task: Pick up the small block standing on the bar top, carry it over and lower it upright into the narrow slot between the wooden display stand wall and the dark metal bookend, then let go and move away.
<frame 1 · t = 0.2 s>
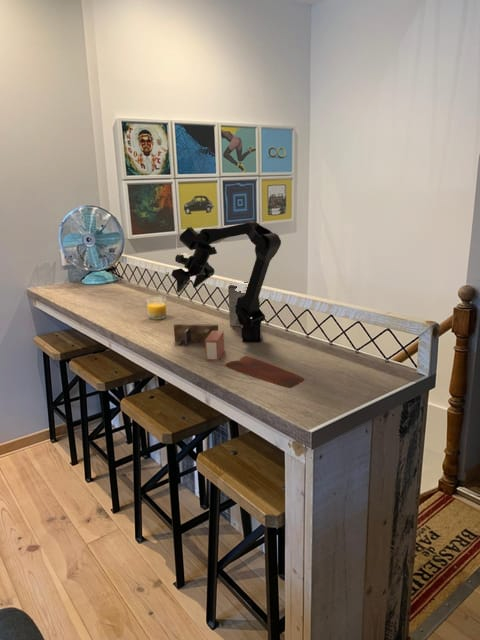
hand: (186, 289, 191), 15 cm above the table, tool tilted 30°, fingers open, 9 cm apart
block: (215, 355, 163), on the table
bookend: (184, 336, 175), on the table
wooden tablet: (264, 374, 148), on the table
coffee box: (239, 323, 197), on the table
wooden display stand: (197, 343, 174), on the table
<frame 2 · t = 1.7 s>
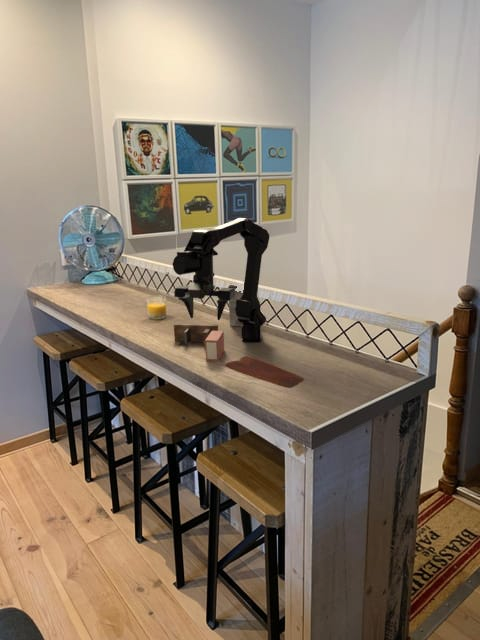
hand: (205, 319, 158), 13 cm above the table, tool pointing down, fingers open, 9 cm apart
nothing on the table moved.
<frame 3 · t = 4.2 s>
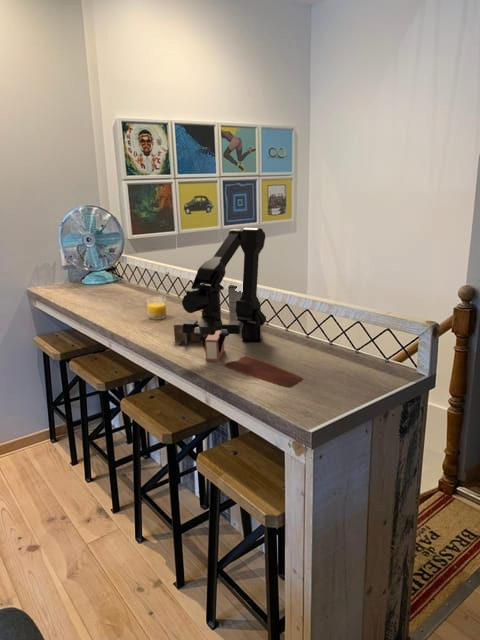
hand: (213, 352, 160), 2 cm above the table, tool pointing down, fingers closed on block, 4 cm apart
block: (215, 355, 162), on the table, touching gripper
everything else where it was.
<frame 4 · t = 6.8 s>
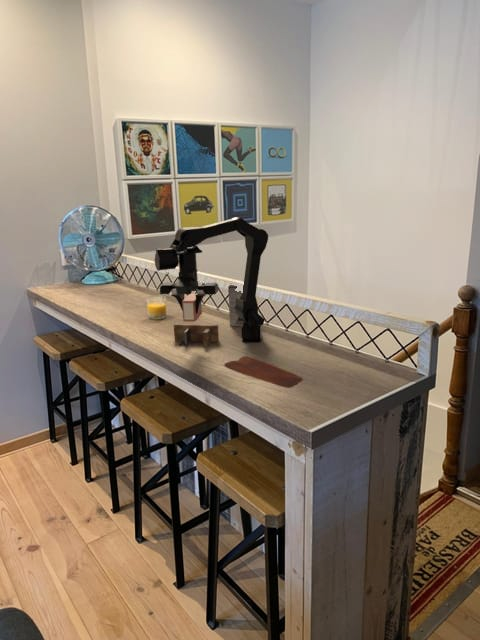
hand: (190, 313, 164), 13 cm above the table, tool pointing down, fingers closed on block, 4 cm apart
block: (192, 317, 167), point 11 cm above the table, touching gripper
everything else where it was.
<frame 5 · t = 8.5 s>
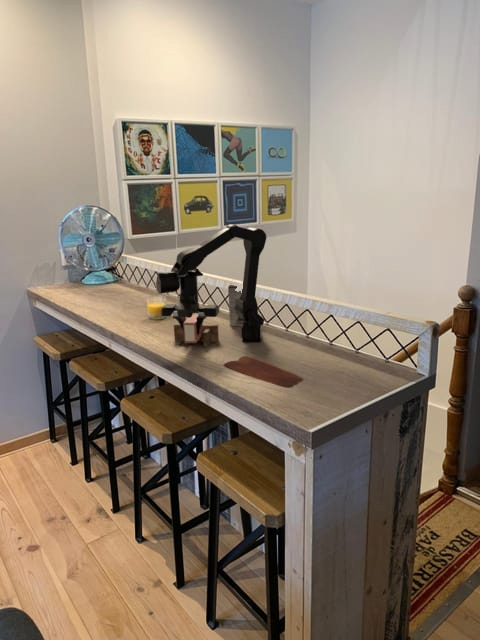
hand: (191, 334, 167), 5 cm above the table, tool pointing down, fingers closed on block, 4 cm apart
block: (194, 338, 170), point 3 cm above the table, touching gripper
everything else where it was.
when the fingers open (3 cm above the table, at t = 9.9 s): block drops 1 cm, on the table.
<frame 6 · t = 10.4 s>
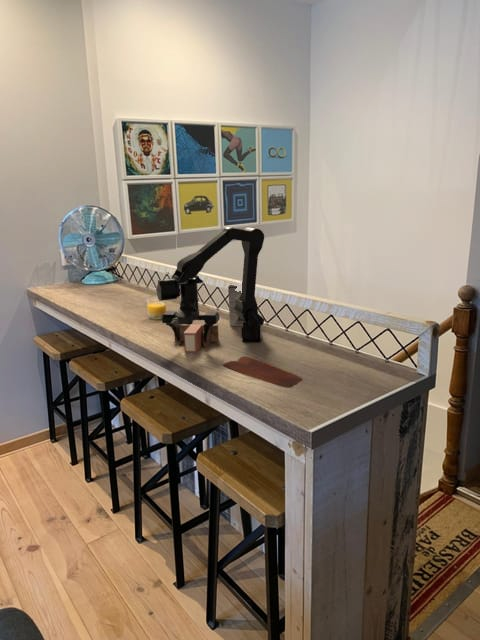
hand: (192, 341, 167), 3 cm above the table, tool pointing down, fingers open, 9 cm apart
block: (194, 347, 171), on the table
everything else where it was.
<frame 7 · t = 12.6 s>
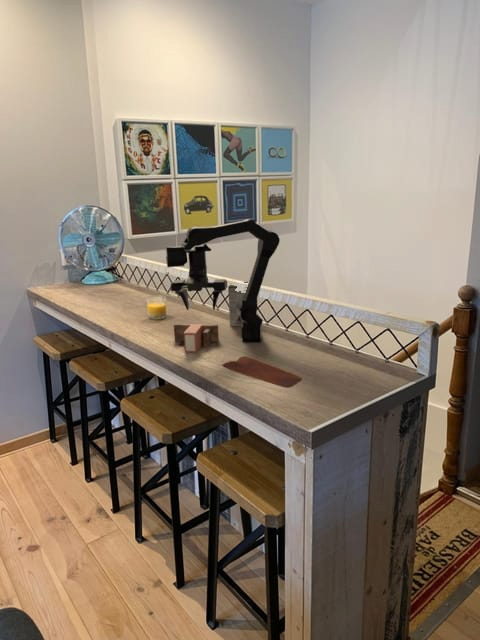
hand: (200, 309, 170), 13 cm above the table, tool pointing down, fingers open, 9 cm apart
nothing on the table moved.
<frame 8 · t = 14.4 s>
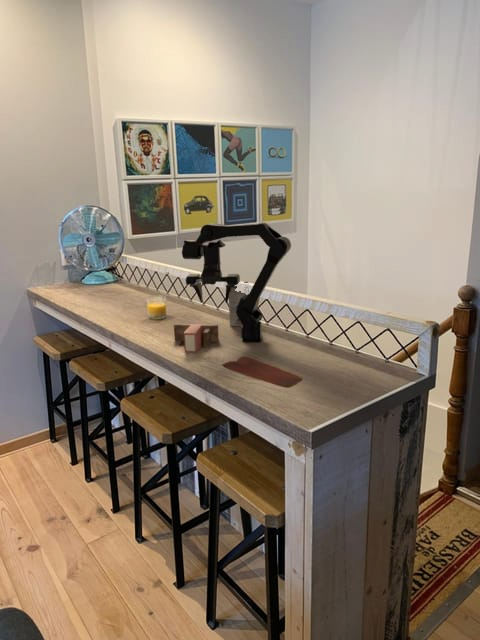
hand: (214, 302, 177), 13 cm above the table, tool pointing down, fingers open, 9 cm apart
nothing on the table moved.
at the end: block 0.1 cm from the target spot, on the table; block tilted 0°; the gripper is holding nothing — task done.
